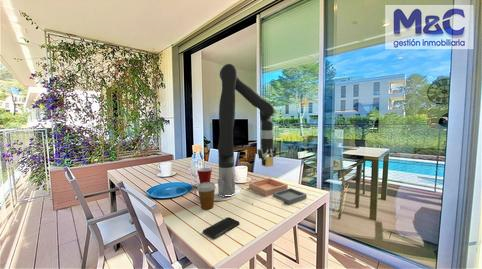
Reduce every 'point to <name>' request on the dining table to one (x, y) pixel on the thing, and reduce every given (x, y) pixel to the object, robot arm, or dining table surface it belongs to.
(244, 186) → the dining table surface
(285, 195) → the charcoal tray
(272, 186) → the terracotta dish
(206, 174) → the plastic cup
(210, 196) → the disposable coffee cup
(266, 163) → the ochre cube
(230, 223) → the phone
